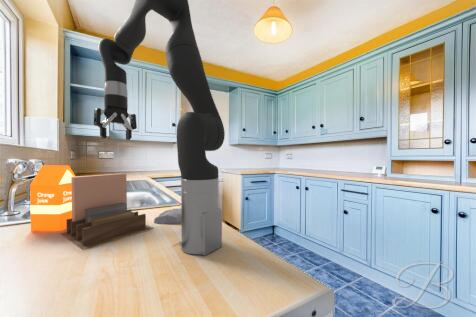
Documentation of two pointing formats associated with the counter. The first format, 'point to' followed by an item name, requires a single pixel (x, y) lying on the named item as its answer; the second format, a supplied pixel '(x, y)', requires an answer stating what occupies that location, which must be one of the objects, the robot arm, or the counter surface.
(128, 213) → the offcut front
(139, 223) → the rack
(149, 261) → the counter surface
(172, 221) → the stone block
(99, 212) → the bar
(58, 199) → the orange juice
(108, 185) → the tall sheet
